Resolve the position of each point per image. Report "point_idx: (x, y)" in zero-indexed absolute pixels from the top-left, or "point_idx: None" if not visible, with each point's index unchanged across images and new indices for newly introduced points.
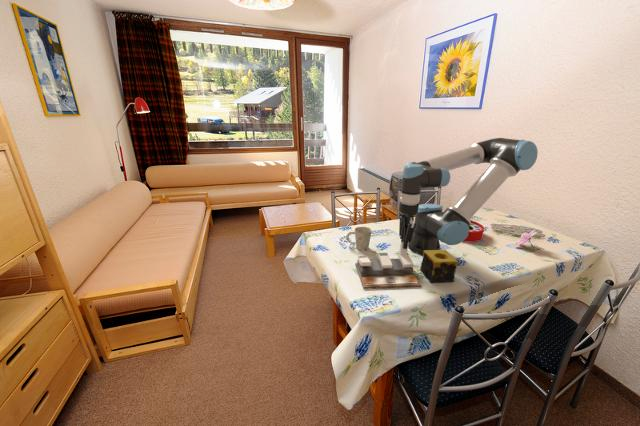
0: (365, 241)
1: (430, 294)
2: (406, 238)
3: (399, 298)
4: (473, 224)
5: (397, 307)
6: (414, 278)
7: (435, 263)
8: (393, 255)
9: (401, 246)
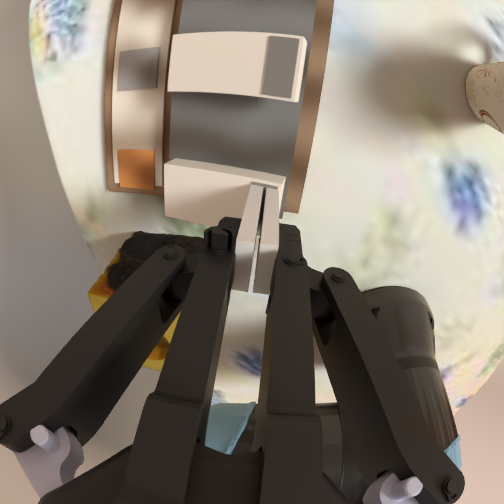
0: (495, 89)
1: (80, 198)
2: (129, 279)
3: (62, 88)
4: None
5: (34, 76)
6: (137, 181)
7: (91, 292)
8: (384, 194)
9: (247, 213)
